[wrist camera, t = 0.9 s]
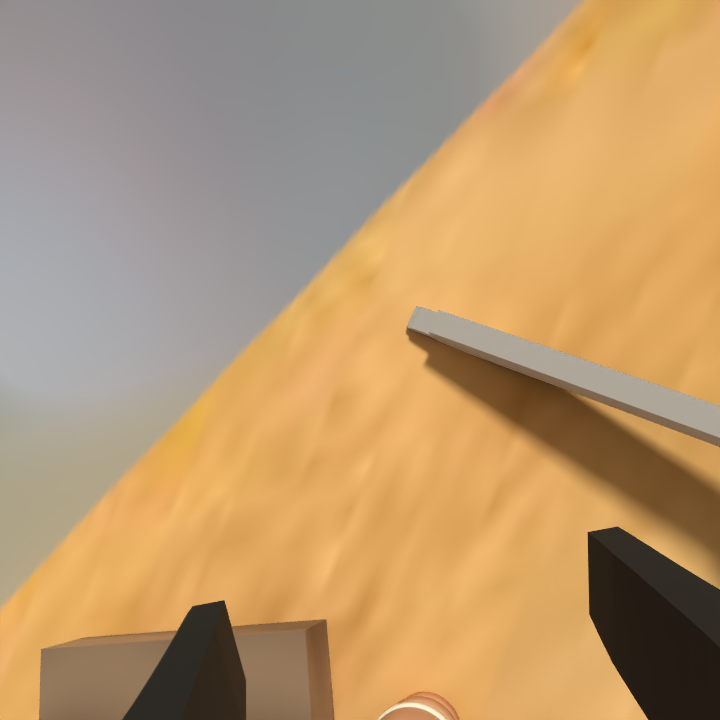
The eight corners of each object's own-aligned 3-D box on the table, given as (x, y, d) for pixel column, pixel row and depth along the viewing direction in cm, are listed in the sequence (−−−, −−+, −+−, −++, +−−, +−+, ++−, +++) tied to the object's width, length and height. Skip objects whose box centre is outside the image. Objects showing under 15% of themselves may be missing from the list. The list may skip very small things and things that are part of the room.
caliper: (980, 531, 21) (1160, 538, 15) (969, 562, 21) (1145, 581, 15) (417, 309, 27) (386, 252, 21) (406, 331, 27) (372, 280, 21)
